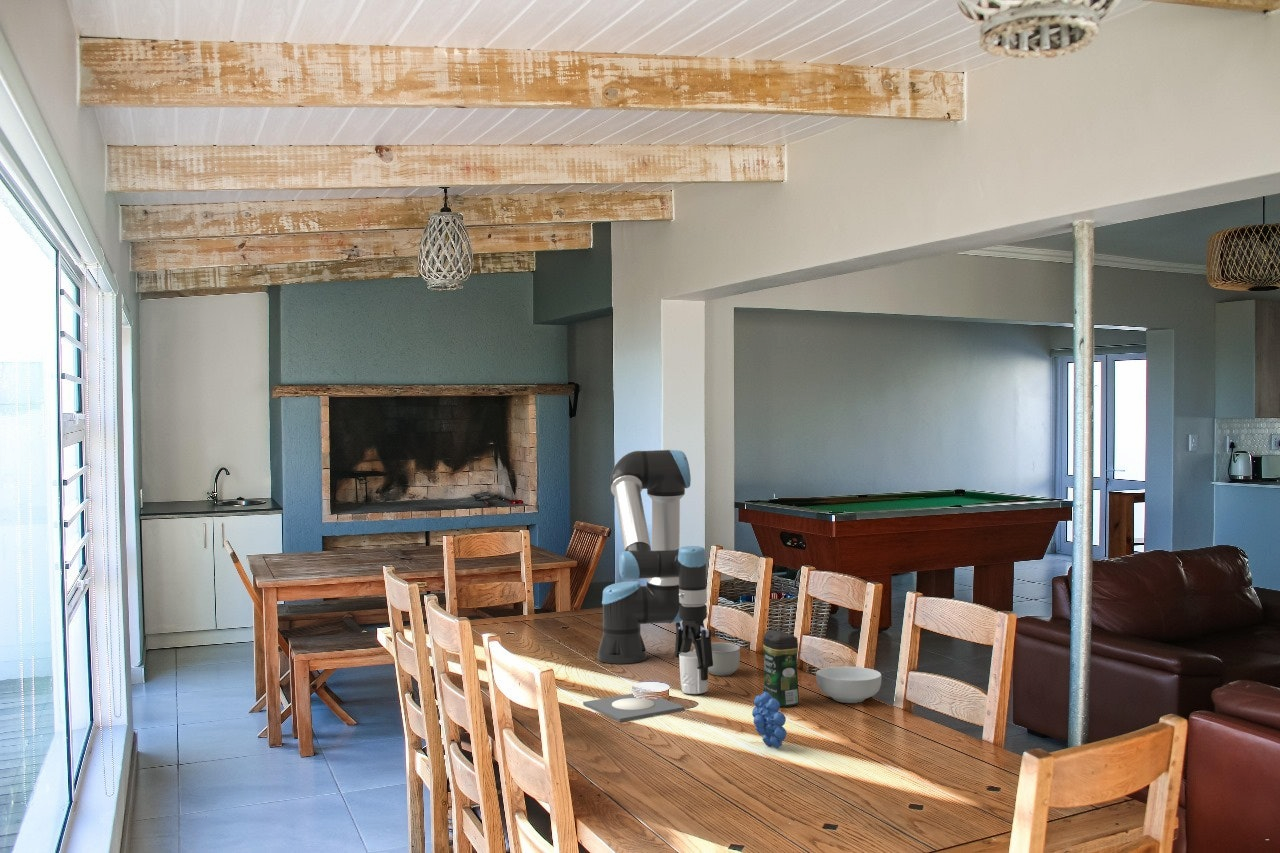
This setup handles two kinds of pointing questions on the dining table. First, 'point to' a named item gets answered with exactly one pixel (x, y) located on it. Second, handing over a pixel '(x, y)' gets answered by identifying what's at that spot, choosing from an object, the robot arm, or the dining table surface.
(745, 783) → the dining table surface
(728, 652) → the teacup
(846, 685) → the cereal bowl
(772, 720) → the grapes
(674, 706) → the mat
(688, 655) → the white cup
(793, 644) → the coffee jar
